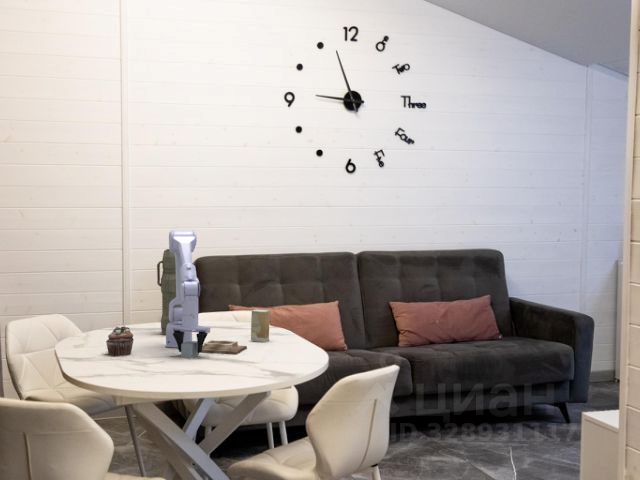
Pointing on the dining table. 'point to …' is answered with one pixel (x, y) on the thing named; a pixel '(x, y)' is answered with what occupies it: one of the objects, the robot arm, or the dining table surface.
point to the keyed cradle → (222, 347)
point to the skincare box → (260, 325)
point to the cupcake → (120, 342)
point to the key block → (189, 349)
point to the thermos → (167, 285)
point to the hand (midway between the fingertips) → (190, 352)
